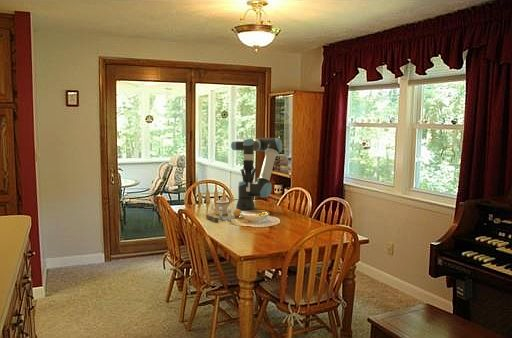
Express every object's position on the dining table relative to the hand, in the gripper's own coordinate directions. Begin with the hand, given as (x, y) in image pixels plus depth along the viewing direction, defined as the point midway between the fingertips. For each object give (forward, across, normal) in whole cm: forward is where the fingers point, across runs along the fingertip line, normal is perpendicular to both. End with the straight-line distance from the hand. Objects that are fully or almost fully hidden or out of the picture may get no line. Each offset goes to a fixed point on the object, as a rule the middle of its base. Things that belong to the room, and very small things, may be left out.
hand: (248, 191), depth 337 cm
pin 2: (+19, +20, +7) cm, 28 cm away
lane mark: (+19, +15, 0) cm, 24 cm away
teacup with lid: (+19, +14, -17) cm, 29 cm away
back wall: (+19, +30, 0) cm, 36 cm away
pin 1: (+19, +23, 0) cm, 30 cm away
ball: (+16, +9, 0) cm, 18 cm away
